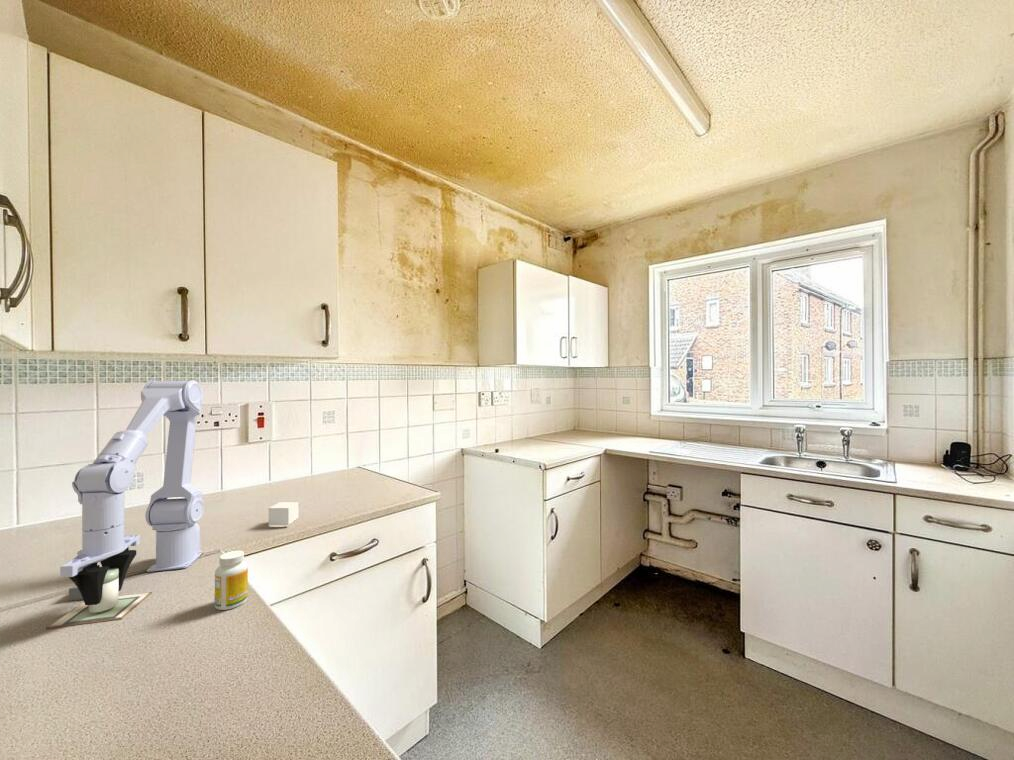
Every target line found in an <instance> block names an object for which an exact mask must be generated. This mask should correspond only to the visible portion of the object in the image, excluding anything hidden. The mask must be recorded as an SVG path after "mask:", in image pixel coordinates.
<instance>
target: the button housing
mask: <svg viewBox="0 0 1014 760" xmlns="http://www.w3.org/2000/svg"><path fill="white" fill-rule="evenodd" d="M79 600H83V598H82V595H81V593H80V591H79V589H78V587H77V586H76V585H75V584H74V585H72V586H71V587H69V588H68V602H71V601H79Z"/></svg>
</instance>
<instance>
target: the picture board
mask: <svg viewBox="0 0 1014 760" xmlns="http://www.w3.org/2000/svg"><path fill="white" fill-rule="evenodd" d="M152 593H153V592H152V591H150V592H140V593H132V594H126V595H125V594H123V595H119V603H118V605H116V606H115V607H113V608H111V609H108V610H105V611H101V612H96V613H91V612H89V605H85V603H84V601H83V602H81V603H79V604H78V605H76V606H75V607H74V608H72V609H70V611H68V612H66V613H65V614H64V615H62V616H61V617H60V618H59V617H58V619H57V620H55V621H54V622H52V623H51V624H49V625H48V626H46V627H45V630H47V629H48V630H49V629H55V628H56V629H58V628H64V627H73V626H80V625H86V624H87V625H88V624H94V623H96V624H97V623H101V622H110V621H117V620H118V621H119V620H123V619H124V618H125V617H126V616H127V615H128V614H129V613H131V612H132V611H133V610H134V609H135V608H136V607H137V606H138V605H140V604H141V603H142V602H143V601H145V599H147V598H148V597H149V596H151V594H152Z"/></svg>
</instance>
